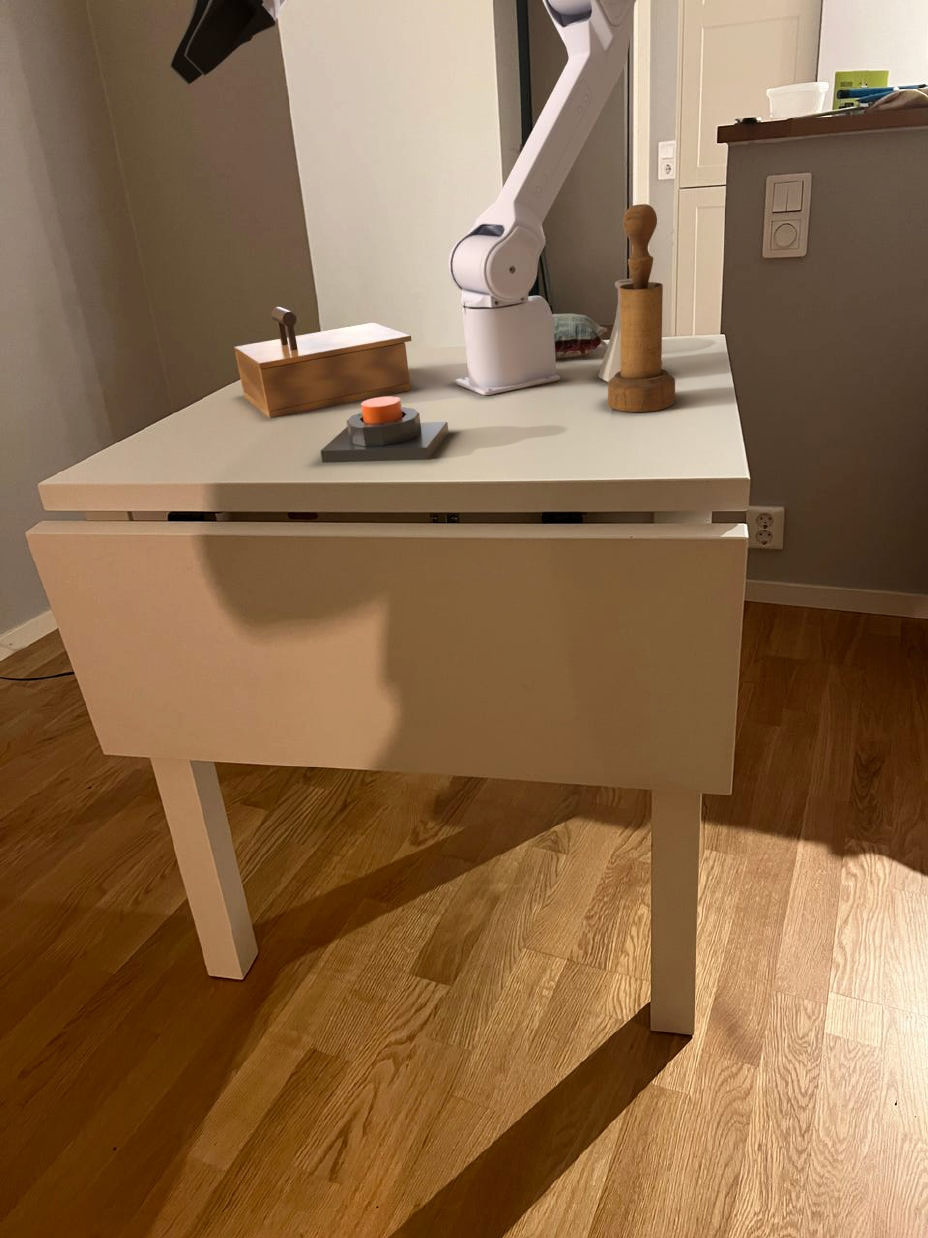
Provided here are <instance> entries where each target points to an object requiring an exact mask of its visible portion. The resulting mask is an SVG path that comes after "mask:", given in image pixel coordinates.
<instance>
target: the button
mask: <svg viewBox="0 0 928 1238" xmlns="http://www.w3.org/2000/svg"><path fill="white" fill-rule="evenodd" d="M360 407H361V412H362V414H363V420H364V423H385V422H390V421H395V420H398V419H401V418H403V415H402V408H401V407H402V400H401V397H397V396H376V397H371V398H368V399H366V400H364V401H362V402H361V403H360Z"/></svg>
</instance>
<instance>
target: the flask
mask: <svg viewBox="0 0 928 1238" xmlns="http://www.w3.org/2000/svg"><path fill="white" fill-rule="evenodd" d="M630 283H633V280H632V278H625V279H619V280H617V281H615V282H614V287H615V289H617V307H616V312H615V318H614V319H615V320H614V323H613V326H612V330H611V334H610V337H609V341H608V345H607V346H606V351H605V354H604V356H603V360H602V362H601V366H600V369H599V372H598V376H597V377H598V378H600V379H602V380H603V381H605V382H607V383H608V382H609V380H610V379H612V378H613V377H614V375H615V374H616V373H617V372H619V371H621V331H620V286H621V285H624V284H630ZM662 369H664V370H666V369H665V367H664V364H663V362H662Z"/></svg>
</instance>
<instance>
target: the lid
mask: <svg viewBox="0 0 928 1238" xmlns="http://www.w3.org/2000/svg"><path fill="white" fill-rule="evenodd" d="M270 315H271V318H272V320H273V321H275V322H276V323H277V330H278V336H279V338H276V339H272V340H271V339H270V340H266V341H260V342H255V343H248V344H242V345H237V346H234V347H233V349H234V352H235V353H237V354H239V355H240V356H242V357H243V358H245V359H246V360H248V361H249V362H251V363H252V364H254V365H255V366H257V367H258V368H260V369H263V368H268V367H274V366H279V365H285V364H290V363H295V362H301V361H306V360H312V359H317V358H322V357H328V356H333V355H339V354H344V353H349V352H355V351H360V350H366V349H371V348H377V347H382V346H387V345H393V344H398V343H409V342H412V341H413V340H412V335H411V334H410V335H409V334H407V333H405V332H401V331H399V330H396V329H393V328H390V327H387V326H384V325H381V324H379V323H377V322H376V323H375V322H368V323H364V324H358V325H351V326H346V327H340V328H333V329H329V330H323V331H317V332H312V333H311V332H310V333H306V334H299V335H296V332H295V331H296V330H295V327H294V326H296V324H297V315H296V314H295V312H293V311H291V310H288V309H286V308H283V307H281V306H276V307H274V308H273V309H272V310H271V314H270Z"/></svg>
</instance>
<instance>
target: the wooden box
mask: <svg viewBox="0 0 928 1238" xmlns="http://www.w3.org/2000/svg"><path fill="white" fill-rule="evenodd" d="M407 355H408V354H407V347H406V342H404V343H398V344H393V345H387V346H382V347H377V348H371V349H366V350H360V351H355V352H349V353H344V354H339V355H333V356H328V357H322V358H317V359H312V360H306V361H301V362H295V363H290V364H285V365H279V366H274V367H268V368H263V369H260V368H258V367H257V366H255V365H254V364H252V363H251V362H249V361H248V360H246V359H245V358H243V357H242V356H240V355H239V354H237V353H236V352H235V359H236V363H237V368H238V374H239V378H240V383H241V387H242V393H243V397H244V399H246V400H247V401H248V402H249V403H250V404H252V406H254V407H255V408H256V409H258V410H260V411H261V412H262V413H263V414H264V415H265V416H266V417H268V419H271V418H272V419H273V418H276V417H282V416H287V415H292V414H297V413H301V412H305V411H312V410H315V409H320V408H327V407H330V406H336V405H340V404H344V403H345V404H346V403H350V402H351V403H352V402H356V401H360V400H365V399H366V400H367V399H372V398H377V397H381V396H386V395H393V394H397V393H398V394H399V393H402V392H408V391H411V390H412V388H411V379H410V371H409V364H408V356H407Z"/></svg>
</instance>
